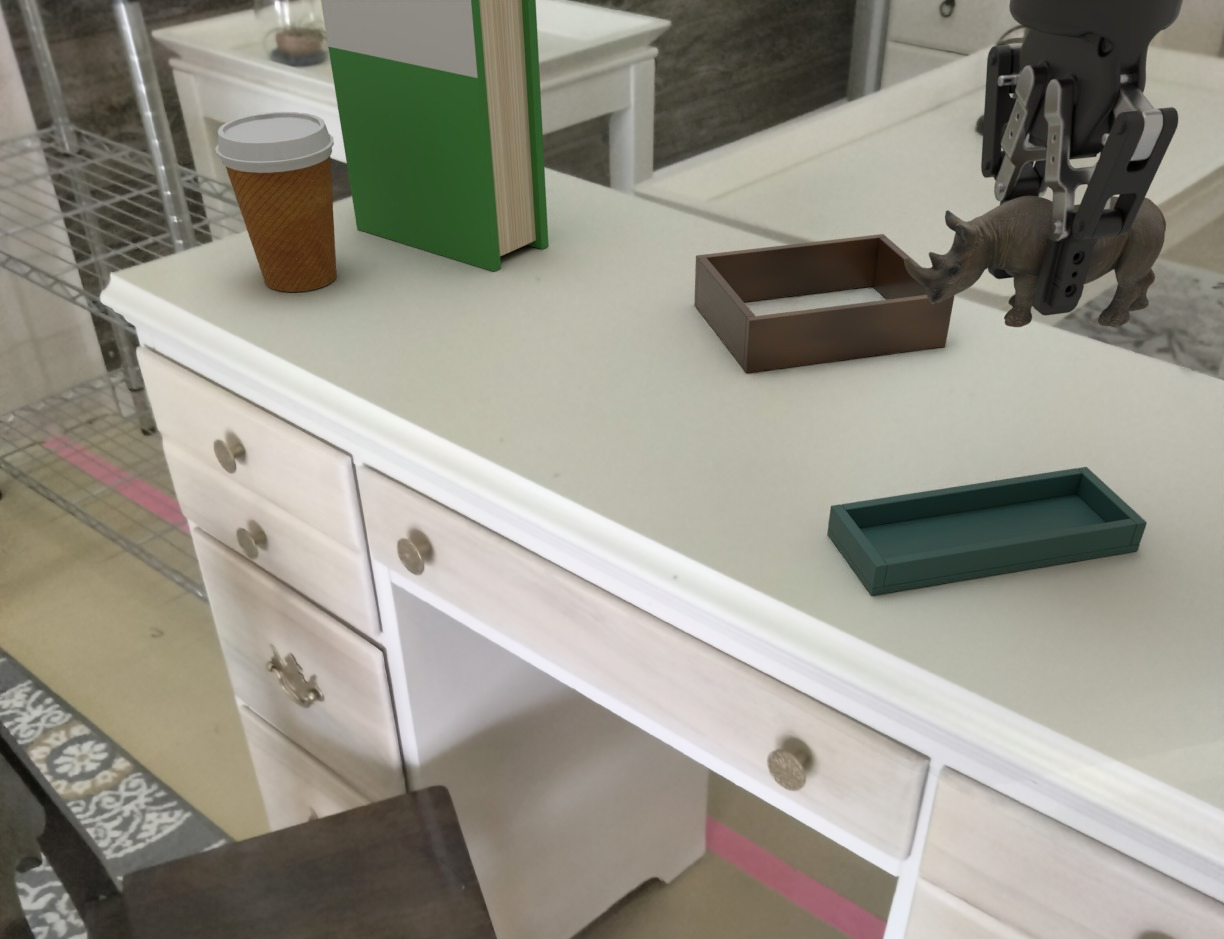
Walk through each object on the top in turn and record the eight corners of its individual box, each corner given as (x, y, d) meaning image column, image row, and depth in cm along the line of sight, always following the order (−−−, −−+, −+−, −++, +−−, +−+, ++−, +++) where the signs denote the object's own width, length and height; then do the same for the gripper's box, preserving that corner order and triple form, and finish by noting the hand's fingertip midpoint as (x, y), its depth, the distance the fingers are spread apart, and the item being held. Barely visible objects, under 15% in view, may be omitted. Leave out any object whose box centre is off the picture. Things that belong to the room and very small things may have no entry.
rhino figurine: (889, 300, 67) (906, 183, 63) (1139, 298, 67) (1173, 181, 62) (899, 331, 64) (918, 211, 60) (1161, 330, 64) (1198, 209, 60)
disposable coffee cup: (279, 309, 101) (246, 152, 93) (226, 277, 107) (191, 126, 98) (376, 279, 106) (353, 127, 97) (320, 250, 111) (294, 103, 102)
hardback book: (548, 246, 111) (531, -76, 94) (493, 271, 106) (465, -61, 90) (412, 207, 119) (374, -96, 102) (357, 229, 114) (307, -83, 98)
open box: (877, 282, 103) (883, 233, 101) (945, 346, 94) (955, 294, 91) (694, 304, 101) (695, 255, 98) (746, 373, 91) (749, 320, 89)
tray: (1078, 494, 78) (1086, 466, 77) (1138, 551, 73) (1147, 522, 72) (827, 533, 75) (830, 505, 74) (871, 596, 70) (876, 566, 69)
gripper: (1299, -85, 48) (1167, 339, 60) (1109, -134, 58) (1028, 238, 70) (1130, -72, 47) (1030, 357, 59) (965, -125, 57) (908, 252, 69)
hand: (1029, 291), depth 64 cm, fingers closed on rhino figurine, 4 cm apart
